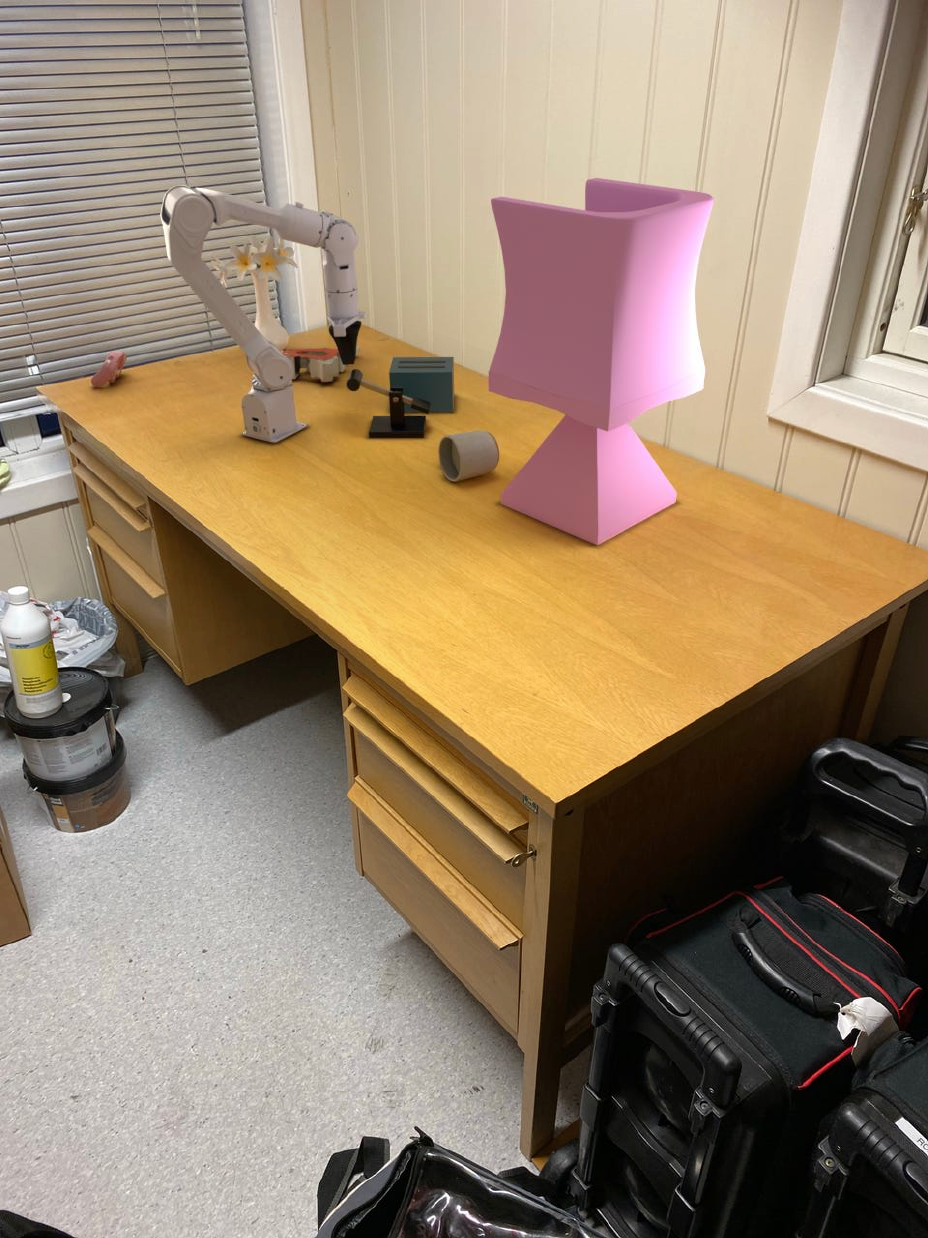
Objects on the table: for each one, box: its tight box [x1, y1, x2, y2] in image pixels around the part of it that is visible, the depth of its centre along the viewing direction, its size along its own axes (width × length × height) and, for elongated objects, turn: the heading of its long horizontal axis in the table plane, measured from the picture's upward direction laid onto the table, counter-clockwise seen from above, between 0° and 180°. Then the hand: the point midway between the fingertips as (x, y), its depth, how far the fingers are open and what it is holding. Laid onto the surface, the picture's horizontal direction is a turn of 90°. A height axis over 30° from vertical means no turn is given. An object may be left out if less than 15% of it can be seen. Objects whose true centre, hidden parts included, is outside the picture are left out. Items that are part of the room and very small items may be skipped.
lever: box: [345, 368, 431, 415], centre depth 173 cm, size 16×5×2 cm, turn 89°
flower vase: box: [209, 234, 299, 353], centre depth 207 cm, size 13×18×25 cm
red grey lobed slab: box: [282, 344, 361, 384], centre depth 203 cm, size 18×5×20 cm
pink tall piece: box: [488, 177, 715, 546], centre depth 138 cm, size 22×22×45 cm
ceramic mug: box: [437, 430, 500, 483], centre depth 159 cm, size 11×8×8 cm
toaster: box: [388, 356, 455, 414], centre depth 185 cm, size 12×9×8 cm
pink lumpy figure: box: [90, 349, 128, 388], centre depth 200 cm, size 10×5×7 cm, turn 179°
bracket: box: [368, 386, 427, 439], centre depth 175 cm, size 10×8×8 cm
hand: (348, 363), depth 177 cm, fingers closed
